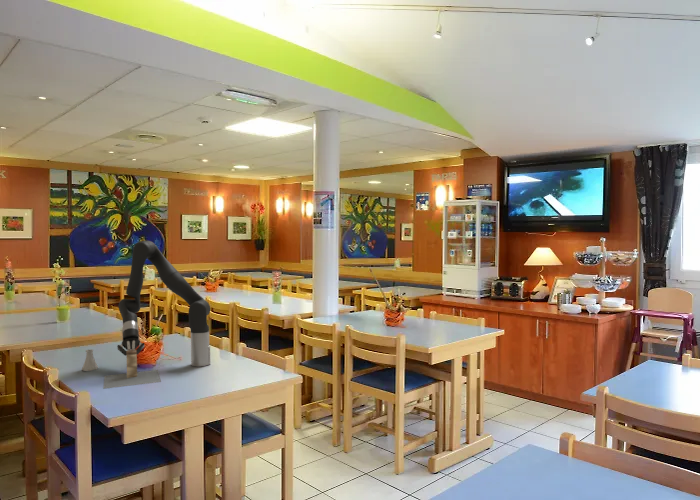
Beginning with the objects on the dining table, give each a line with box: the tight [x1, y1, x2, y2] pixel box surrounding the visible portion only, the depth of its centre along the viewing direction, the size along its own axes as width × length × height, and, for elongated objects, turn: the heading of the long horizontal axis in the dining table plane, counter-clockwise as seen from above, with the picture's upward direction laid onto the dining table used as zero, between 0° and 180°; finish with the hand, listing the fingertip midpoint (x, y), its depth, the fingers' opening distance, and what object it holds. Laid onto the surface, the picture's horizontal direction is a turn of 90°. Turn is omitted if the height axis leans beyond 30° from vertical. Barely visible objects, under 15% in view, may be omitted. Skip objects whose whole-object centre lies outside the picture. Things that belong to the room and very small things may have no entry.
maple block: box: [126, 349, 138, 378], centre depth 245 cm, size 4×4×12 cm
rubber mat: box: [102, 369, 162, 390], centre depth 240 cm, size 24×22×1 cm
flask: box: [81, 349, 99, 372], centre depth 258 cm, size 7×7×10 cm
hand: (131, 361), depth 249 cm, fingers closed
